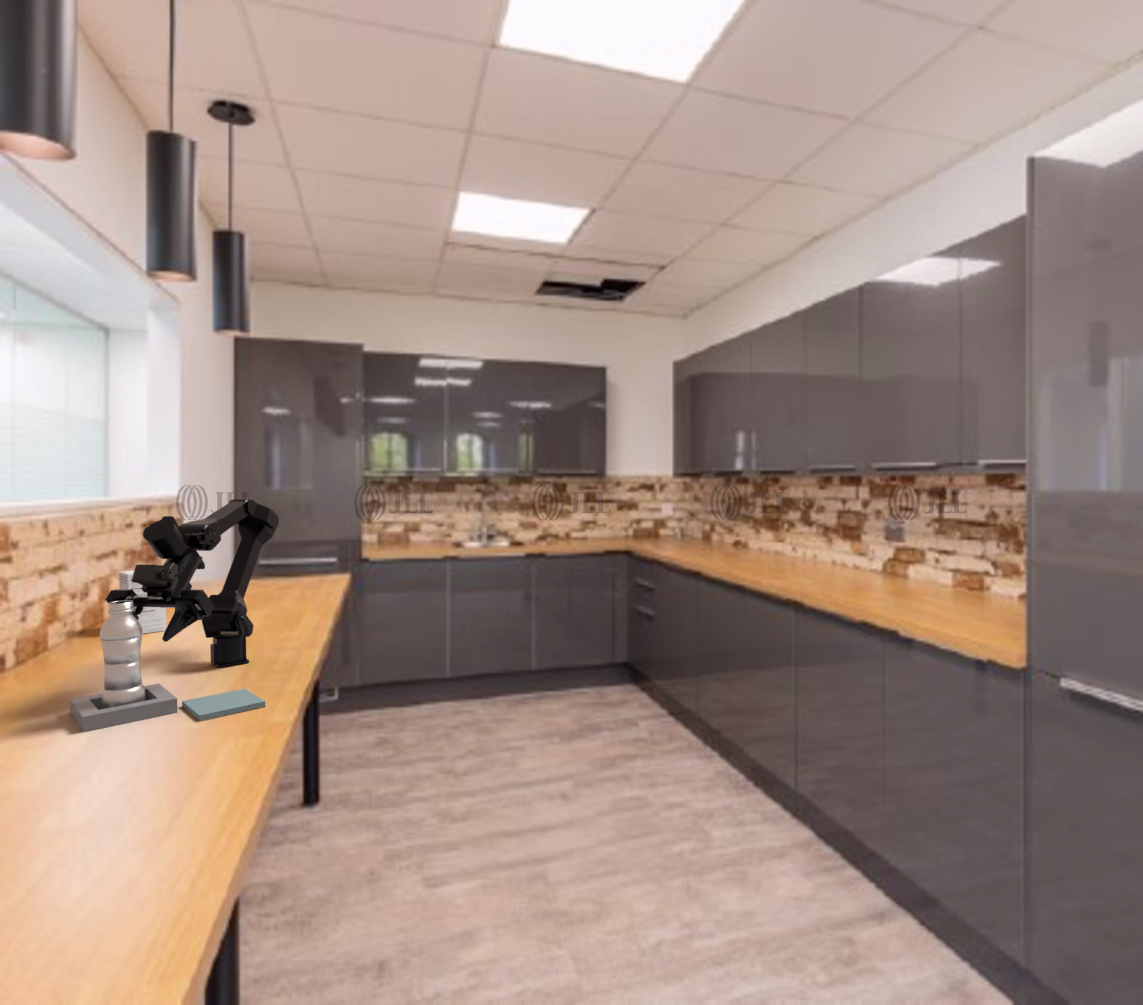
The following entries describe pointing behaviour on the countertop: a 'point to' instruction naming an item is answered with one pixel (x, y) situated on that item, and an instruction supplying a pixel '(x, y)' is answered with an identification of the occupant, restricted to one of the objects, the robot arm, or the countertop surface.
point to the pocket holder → (122, 709)
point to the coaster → (222, 704)
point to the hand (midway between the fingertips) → (140, 640)
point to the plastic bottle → (121, 656)
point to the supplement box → (150, 616)
